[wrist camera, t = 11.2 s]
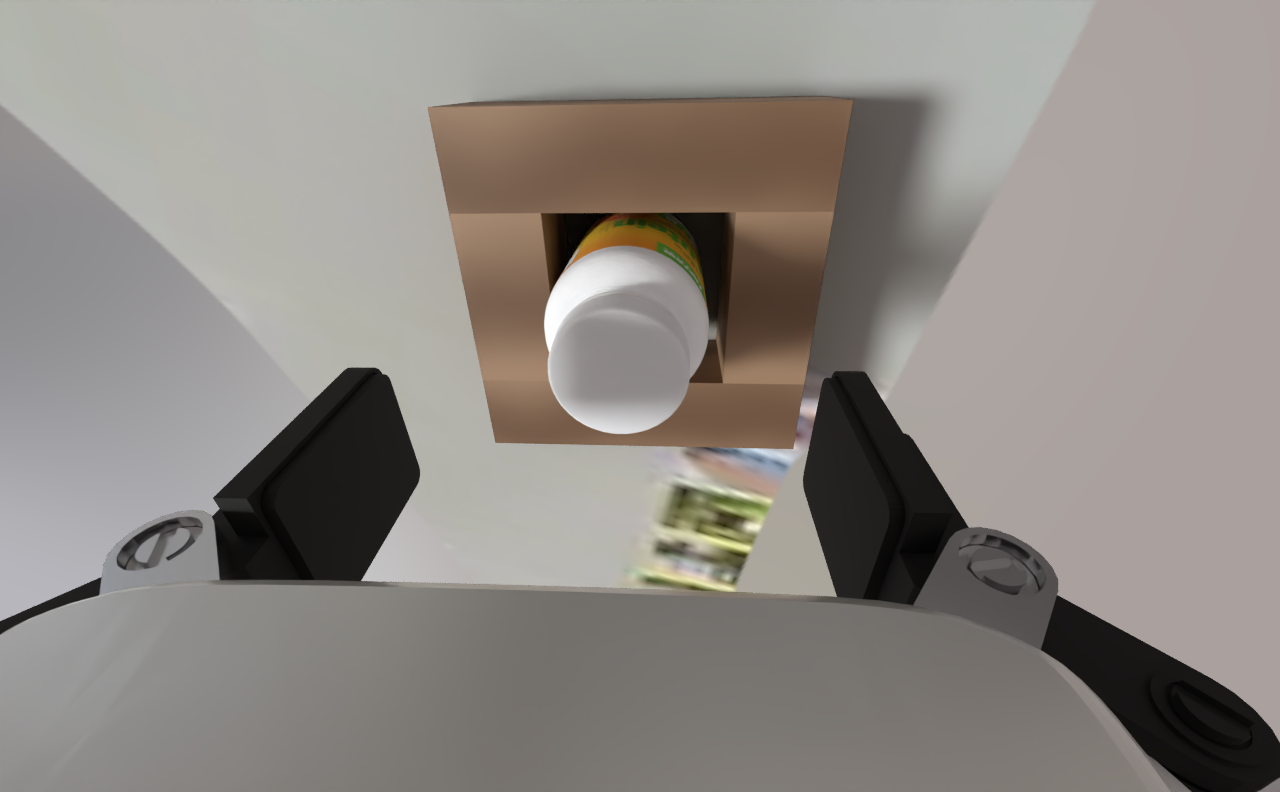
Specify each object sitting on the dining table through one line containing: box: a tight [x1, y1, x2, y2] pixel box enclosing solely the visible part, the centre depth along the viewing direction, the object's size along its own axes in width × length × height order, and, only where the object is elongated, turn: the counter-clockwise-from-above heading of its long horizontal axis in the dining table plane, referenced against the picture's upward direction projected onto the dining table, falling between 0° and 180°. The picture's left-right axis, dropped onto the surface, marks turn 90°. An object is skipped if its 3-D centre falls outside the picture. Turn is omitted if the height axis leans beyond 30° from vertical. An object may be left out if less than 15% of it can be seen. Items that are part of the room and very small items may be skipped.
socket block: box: [428, 96, 853, 449], centre depth 21 cm, size 13×13×4 cm
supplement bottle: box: [544, 213, 709, 434], centre depth 18 cm, size 5×5×10 cm
